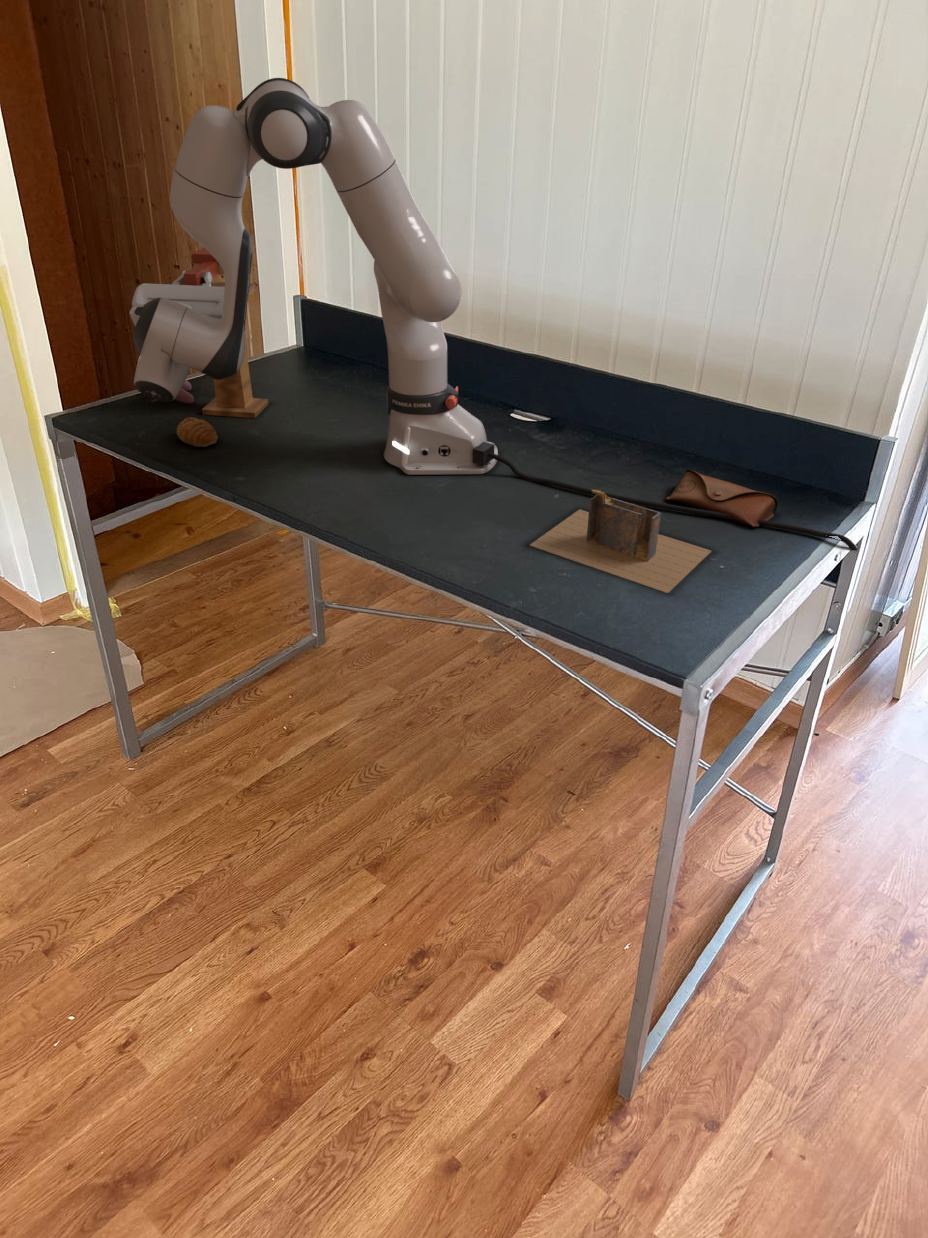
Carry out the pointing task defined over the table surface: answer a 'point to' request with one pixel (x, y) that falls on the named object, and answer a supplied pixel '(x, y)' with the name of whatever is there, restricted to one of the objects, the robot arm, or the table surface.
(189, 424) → the pastry
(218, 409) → the stand
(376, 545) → the table surface
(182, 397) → the video game controller
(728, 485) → the sunglasses case
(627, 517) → the ruin model on sheet
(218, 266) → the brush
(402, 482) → the table surface
